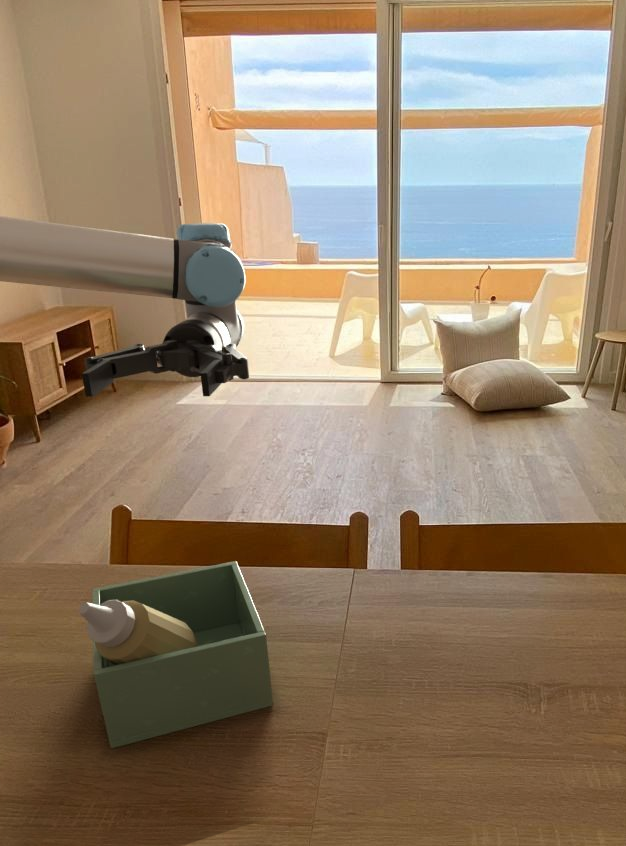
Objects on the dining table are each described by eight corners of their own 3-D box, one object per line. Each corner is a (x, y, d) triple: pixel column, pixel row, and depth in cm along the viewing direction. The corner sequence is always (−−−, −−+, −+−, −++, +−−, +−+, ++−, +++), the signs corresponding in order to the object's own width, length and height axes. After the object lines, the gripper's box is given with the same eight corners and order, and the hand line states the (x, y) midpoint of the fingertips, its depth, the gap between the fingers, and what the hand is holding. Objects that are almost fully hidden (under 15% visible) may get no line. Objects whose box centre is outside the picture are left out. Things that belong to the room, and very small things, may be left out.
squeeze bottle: (139, 690, 82) (34, 643, 67) (163, 625, 86) (68, 566, 71) (197, 700, 79) (100, 653, 64) (219, 633, 83) (132, 573, 68)
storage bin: (106, 654, 89) (92, 588, 85) (243, 623, 95) (236, 560, 90) (111, 748, 74) (93, 674, 70) (273, 705, 80) (266, 634, 76)
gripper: (286, 371, 100) (257, 416, 80) (114, 371, 100) (44, 416, 81) (282, 318, 96) (251, 351, 77) (105, 318, 97) (30, 352, 78)
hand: (145, 385), depth 79 cm, fingers open, 13 cm apart
